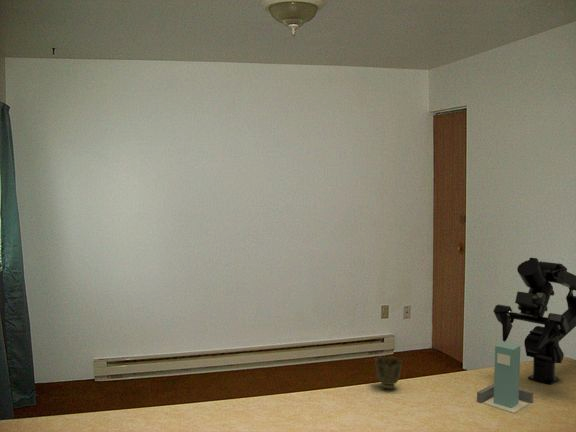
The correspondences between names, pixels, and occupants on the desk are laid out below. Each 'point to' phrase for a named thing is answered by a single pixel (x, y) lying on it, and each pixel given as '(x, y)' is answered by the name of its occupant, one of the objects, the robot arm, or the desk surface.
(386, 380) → the cup
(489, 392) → the corner arena
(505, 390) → the teal block
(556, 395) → the desk surface
